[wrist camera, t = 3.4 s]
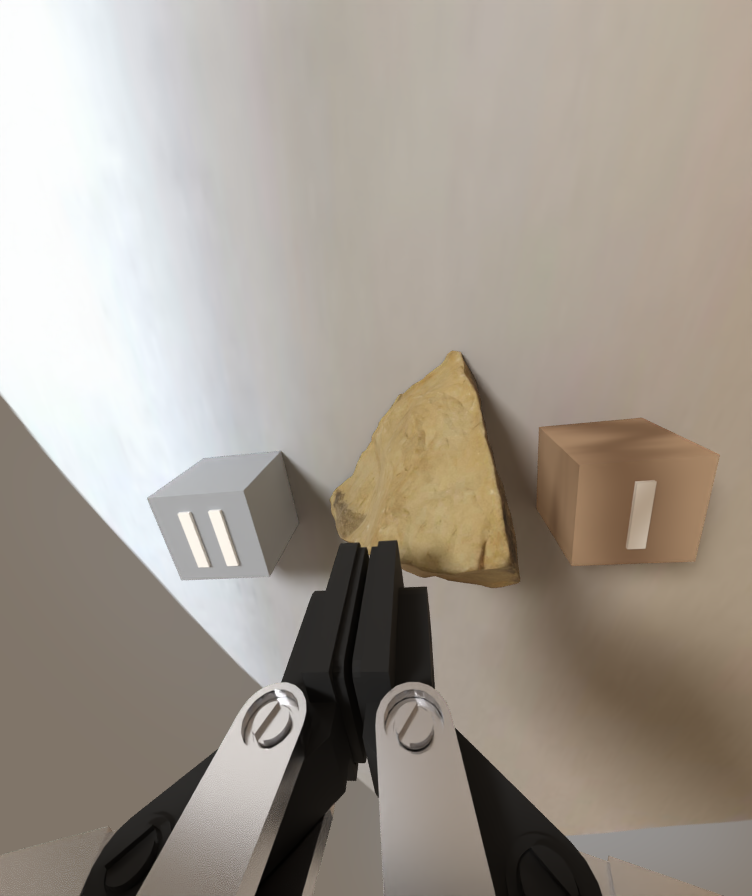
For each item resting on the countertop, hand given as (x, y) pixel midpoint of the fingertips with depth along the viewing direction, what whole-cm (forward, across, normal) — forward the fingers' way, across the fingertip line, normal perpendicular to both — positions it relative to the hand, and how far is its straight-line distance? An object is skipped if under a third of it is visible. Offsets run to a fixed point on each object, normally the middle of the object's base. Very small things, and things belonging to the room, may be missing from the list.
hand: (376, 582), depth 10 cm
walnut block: (+10, -10, +2) cm, 15 cm away
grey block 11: (+11, +9, +2) cm, 14 cm away
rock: (+11, 0, 0) cm, 11 cm away
